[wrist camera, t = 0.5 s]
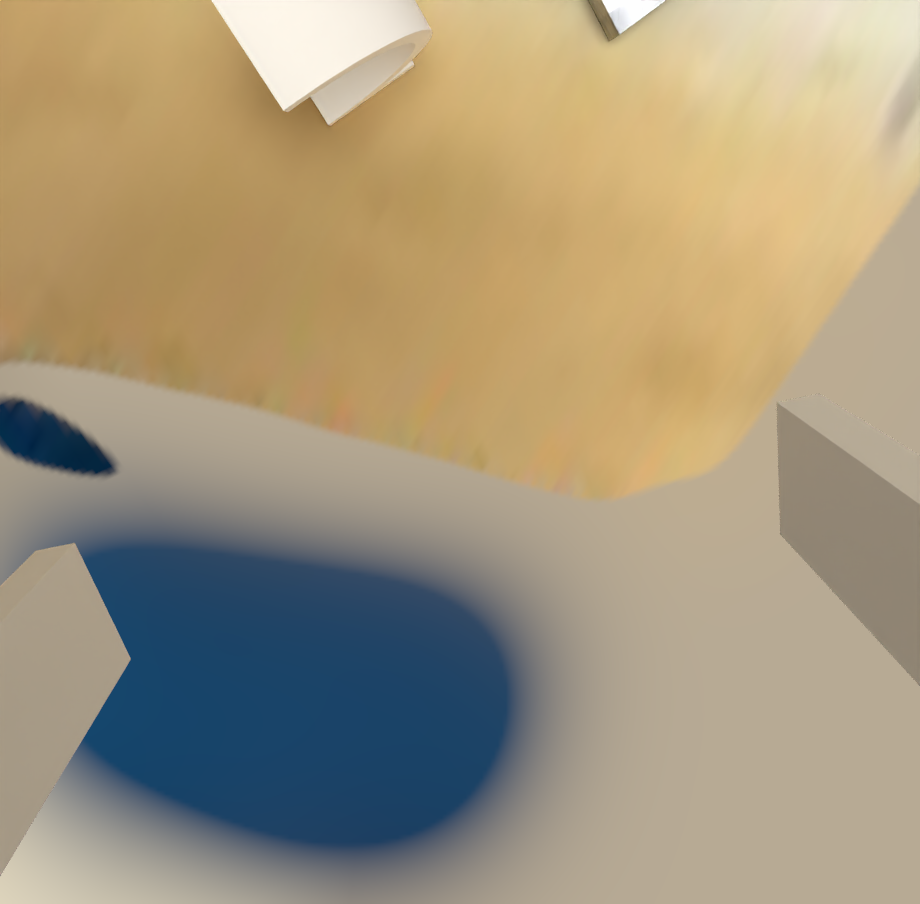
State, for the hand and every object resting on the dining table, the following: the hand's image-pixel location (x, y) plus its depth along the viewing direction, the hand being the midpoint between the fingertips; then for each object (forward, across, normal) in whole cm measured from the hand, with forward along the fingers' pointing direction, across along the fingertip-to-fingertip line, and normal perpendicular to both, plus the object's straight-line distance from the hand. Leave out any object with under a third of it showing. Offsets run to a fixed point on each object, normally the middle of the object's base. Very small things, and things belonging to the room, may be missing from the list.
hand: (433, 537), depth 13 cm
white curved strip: (+27, -1, +12) cm, 30 cm away
